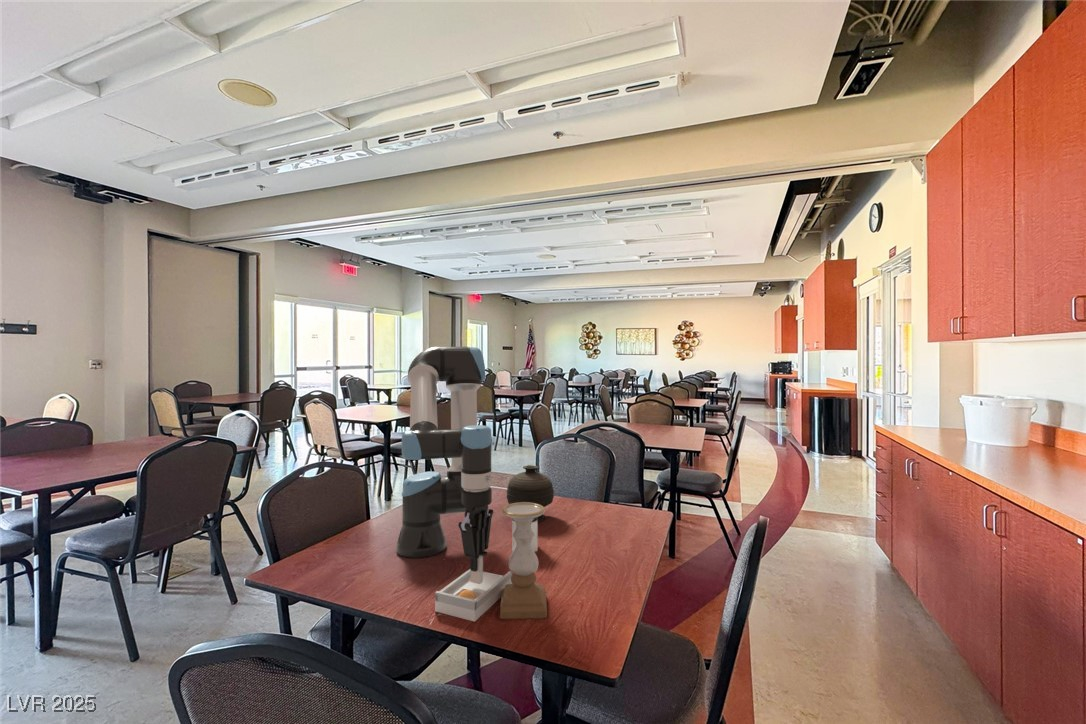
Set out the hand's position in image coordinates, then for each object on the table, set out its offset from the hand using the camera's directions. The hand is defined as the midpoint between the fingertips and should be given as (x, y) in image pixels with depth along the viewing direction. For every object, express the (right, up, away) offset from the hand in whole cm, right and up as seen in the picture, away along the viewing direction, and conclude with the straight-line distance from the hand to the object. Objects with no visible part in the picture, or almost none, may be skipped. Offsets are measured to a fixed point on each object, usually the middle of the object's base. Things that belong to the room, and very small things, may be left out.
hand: (476, 581), depth 119 cm
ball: (-2, -2, -5) cm, 5 cm away
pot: (+12, -4, +60) cm, 61 cm away
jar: (+11, -4, +31) cm, 33 cm away
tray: (0, -4, -1) cm, 4 cm away
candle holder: (+12, -4, -4) cm, 13 cm away
